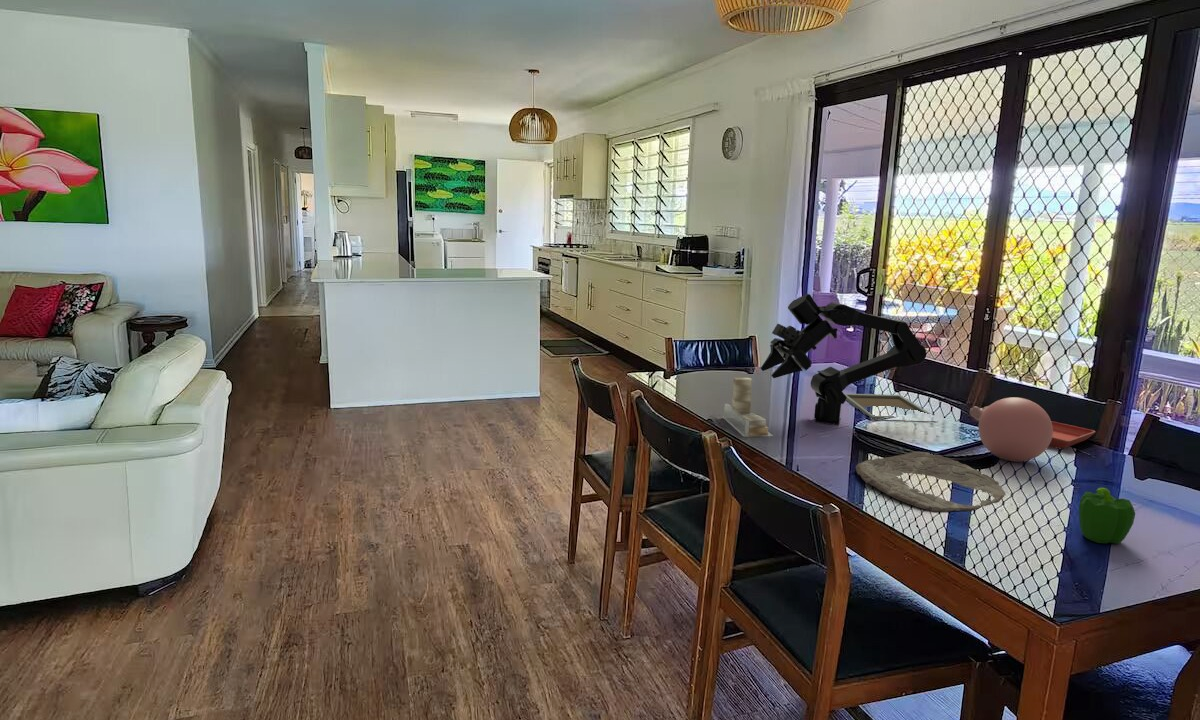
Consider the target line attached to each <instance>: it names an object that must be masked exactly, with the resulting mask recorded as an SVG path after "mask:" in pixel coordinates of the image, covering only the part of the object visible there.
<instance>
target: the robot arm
mask: <svg viewBox="0 0 1200 720" xmlns="http://www.w3.org/2000/svg"><path fill="white" fill-rule="evenodd" d="M787 309H788V310H789V312H790V313H791V315H792V316H793V317H794V318H795V320H797V322H798V323H799V324H800V325H806V326H805V327H804V328H802V329H801V330H800V329H797V328H795V327H793V326H792V325H788V326H787V327H786V326H784V325H782V324H780V323H777V324H776V326H775V327H774V328H773V330H772V332H771V333H772V334H773V335H775V336H777V337H775V338H773V339H772V340H771V341H770V344H769V347H770V353H769V354H768V355H767V358H766V359H765V361H764V362H763V364H762V365H761V366H760V370H761V371H762V372H764V371H767V370H769V369H771V368H774V367H776V366H778V365H779V366H778V367H777V368H776V369H775V370H774V371H773V372H772V374H771V377H772V378H773V379H777V378H780V377H783V376H786V375H790V374H794V373H799V372H803V370H804V371H808V369H810V368H811V367H812V363H813V362H812V360H811V359H810V357H809V356H808V355H807V354H808V352H810V351H811V350H813V351H815V350H817V345H819V343H821V342H822V341H823V340H824V339H825V338H826V337H828V336H829V337H830V338H832V339H837V337H838V334H837V333H838V328H836V327H835V326H834V327H833V326H832V325H831V324H834V325H838V326H850V327H853V326H860V327H865V328H868V329H874V330H878V331H882V332H887V333H890V336H891V340H892V344H893V346H892V347H891V348H890V349H889V350H888V351H887V352H886V353H882V354H881V355H878V356H876V357H872V358H870V359H867V360H864V361H862V362H859V363H857V364H854V365H851V366H849V367H846V368H843V369H840V370H839V369H836V368H835V367H833V366H829V367H827V368H824V369H822V370H817V371H816V372H817V373H815V374H814V375H813V376H812V378H811V380H810V388H811V389H812V390H813V391H814V394H815V396H816V398H817V402H815V405H814V417H813V418H814V419H815V420H814V421H815V423H821V424H829V425H837V426H839V425H840V424H841V420H842V419H841V418H842V417H841V414H842V412H841V411H842V405H844V404H845V403H846V401H847V400H846V398H847V397H846V396H845V394H846V393H844V392H843V391H845V389H846V388H847V387H848V386H849V385H852V384H855V383H857V382H859V381H863V380H864V379H868V378H870V377H872V376H876V375H878V374H881V373H883V372H887V371H890V370H891V369H894V368H902V367H903V368H904V367H913V366H918V365H921V364H923V363H924V362H925V361H926V358H927V353H928V352H927V349H926V347H925V346H924V345H922V344H921V342H920V340H919V339H918V338H917V337H916V335H915V334H914V333H913V331H912V330H911V329H910V326H909V325H908V323H907V322H905V321H903V320H900V319H891V318H887V317H882V316H879V315H875V314H874V315H873V314H870V313H865V312H861V311H860V310H858V309H855V308H854V307H851V306H848V305H846V304H842V303H840V302H836V301H832V302H829V303H827V304H826V305H823V306H820V305H818V304H817V302H815V300H814V299H813V296H812V295H811V294H810V293H805V294H804V295H802V296H799V297H798V298H795V299H793V301H791V302H790V304H788V306H787ZM821 316H822V317H824V320H823V319H822V317H821ZM830 323H831V324H830ZM778 337H779V338H778Z"/></svg>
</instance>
